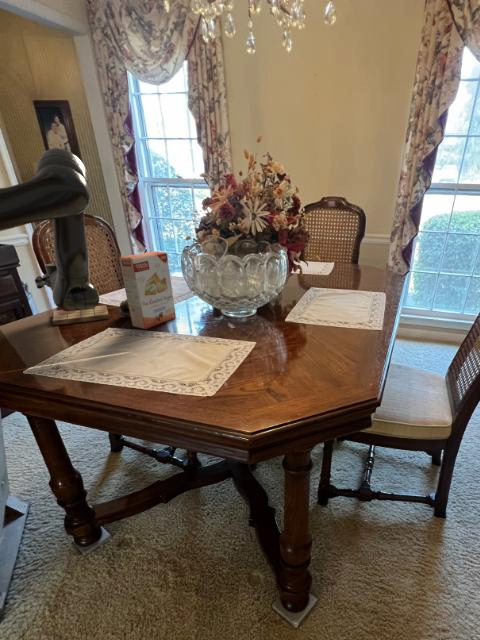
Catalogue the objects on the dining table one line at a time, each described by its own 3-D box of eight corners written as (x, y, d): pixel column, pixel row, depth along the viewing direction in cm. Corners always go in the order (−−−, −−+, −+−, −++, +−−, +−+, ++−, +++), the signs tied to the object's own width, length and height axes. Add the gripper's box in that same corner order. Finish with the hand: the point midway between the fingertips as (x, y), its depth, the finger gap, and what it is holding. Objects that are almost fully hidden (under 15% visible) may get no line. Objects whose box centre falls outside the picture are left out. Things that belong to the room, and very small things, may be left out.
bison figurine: (116, 318, 125) (109, 288, 121) (129, 312, 131) (123, 283, 126) (148, 322, 123) (142, 290, 118) (160, 315, 129) (155, 285, 124)
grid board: (54, 325, 119) (52, 320, 119) (55, 315, 129) (54, 310, 128) (109, 318, 126) (108, 313, 125) (106, 309, 135) (105, 304, 134)
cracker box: (146, 330, 116) (132, 258, 106) (132, 327, 118) (116, 256, 108) (177, 317, 127) (167, 251, 117) (164, 315, 129) (152, 250, 119)
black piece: (54, 298, 122) (44, 266, 117) (55, 295, 126) (45, 263, 121) (71, 296, 124) (62, 265, 119) (72, 293, 128) (62, 262, 123)
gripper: (88, 269, 114) (77, 261, 126) (32, 275, 106) (26, 266, 118) (95, 294, 117) (83, 284, 129) (41, 302, 110) (34, 290, 122)
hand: (56, 276), depth 123 cm, fingers closed on black piece, 5 cm apart
